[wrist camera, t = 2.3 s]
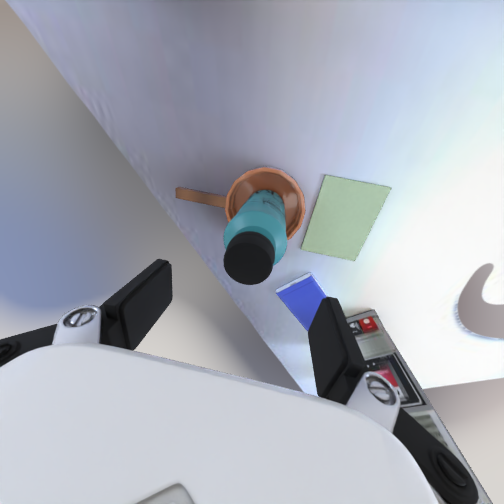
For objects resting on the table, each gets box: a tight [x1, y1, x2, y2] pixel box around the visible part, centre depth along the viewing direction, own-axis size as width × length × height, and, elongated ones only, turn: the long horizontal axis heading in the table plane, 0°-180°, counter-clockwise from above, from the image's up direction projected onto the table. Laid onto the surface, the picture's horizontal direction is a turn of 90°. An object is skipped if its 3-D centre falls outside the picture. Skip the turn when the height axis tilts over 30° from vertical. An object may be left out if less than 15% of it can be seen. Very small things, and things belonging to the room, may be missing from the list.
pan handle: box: [176, 187, 227, 208], centre depth 30 cm, size 8×2×1 cm, turn 80°
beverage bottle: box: [224, 189, 287, 285], centre depth 23 cm, size 6×7×20 cm
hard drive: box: [276, 272, 328, 331], centre depth 39 cm, size 2×8×12 cm
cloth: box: [301, 175, 391, 261], centre depth 31 cm, size 10×13×1 cm
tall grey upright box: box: [346, 310, 493, 504], centre depth 31 cm, size 14×6×25 cm, turn 123°
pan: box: [225, 166, 305, 240], centre depth 30 cm, size 12×12×4 cm
